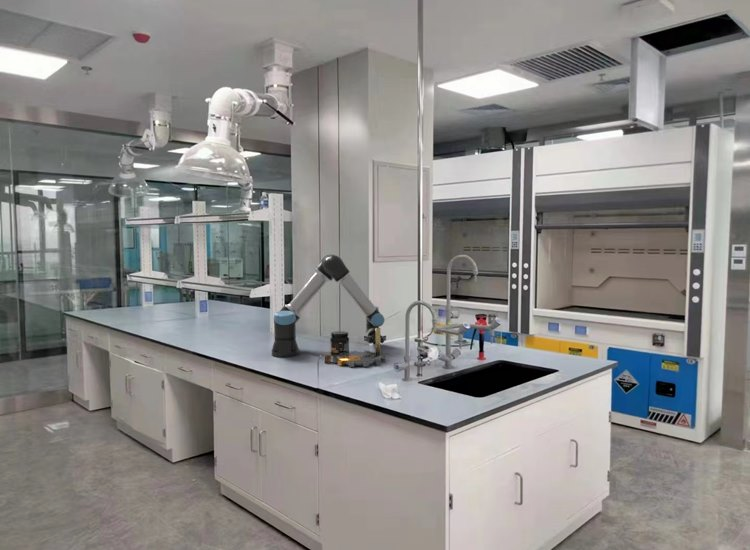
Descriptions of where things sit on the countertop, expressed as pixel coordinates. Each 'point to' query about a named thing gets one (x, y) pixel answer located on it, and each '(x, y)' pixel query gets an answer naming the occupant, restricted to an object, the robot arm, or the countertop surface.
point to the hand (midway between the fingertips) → (377, 343)
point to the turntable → (362, 356)
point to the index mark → (327, 358)
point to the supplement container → (339, 342)
